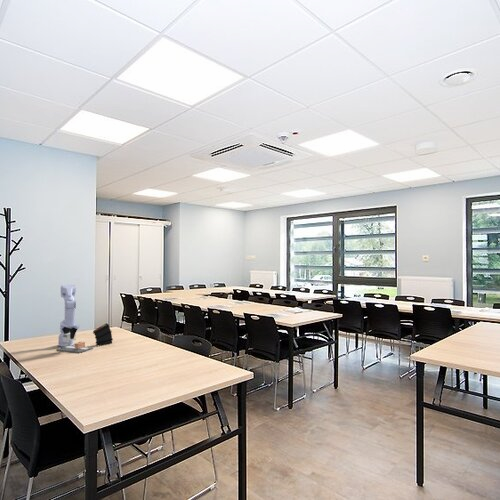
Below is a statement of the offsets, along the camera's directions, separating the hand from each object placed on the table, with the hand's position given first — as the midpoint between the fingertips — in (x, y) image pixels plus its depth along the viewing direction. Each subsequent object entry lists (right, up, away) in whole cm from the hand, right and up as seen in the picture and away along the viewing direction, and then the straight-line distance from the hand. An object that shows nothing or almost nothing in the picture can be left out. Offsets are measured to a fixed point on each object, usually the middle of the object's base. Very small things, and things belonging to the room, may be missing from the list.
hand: (69, 338), depth 244 cm
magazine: (+15, -9, +19) cm, 26 cm away
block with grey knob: (+7, -7, 0) cm, 9 cm away
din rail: (+3, -8, +2) cm, 9 cm away
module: (0, -2, 0) cm, 2 cm away
